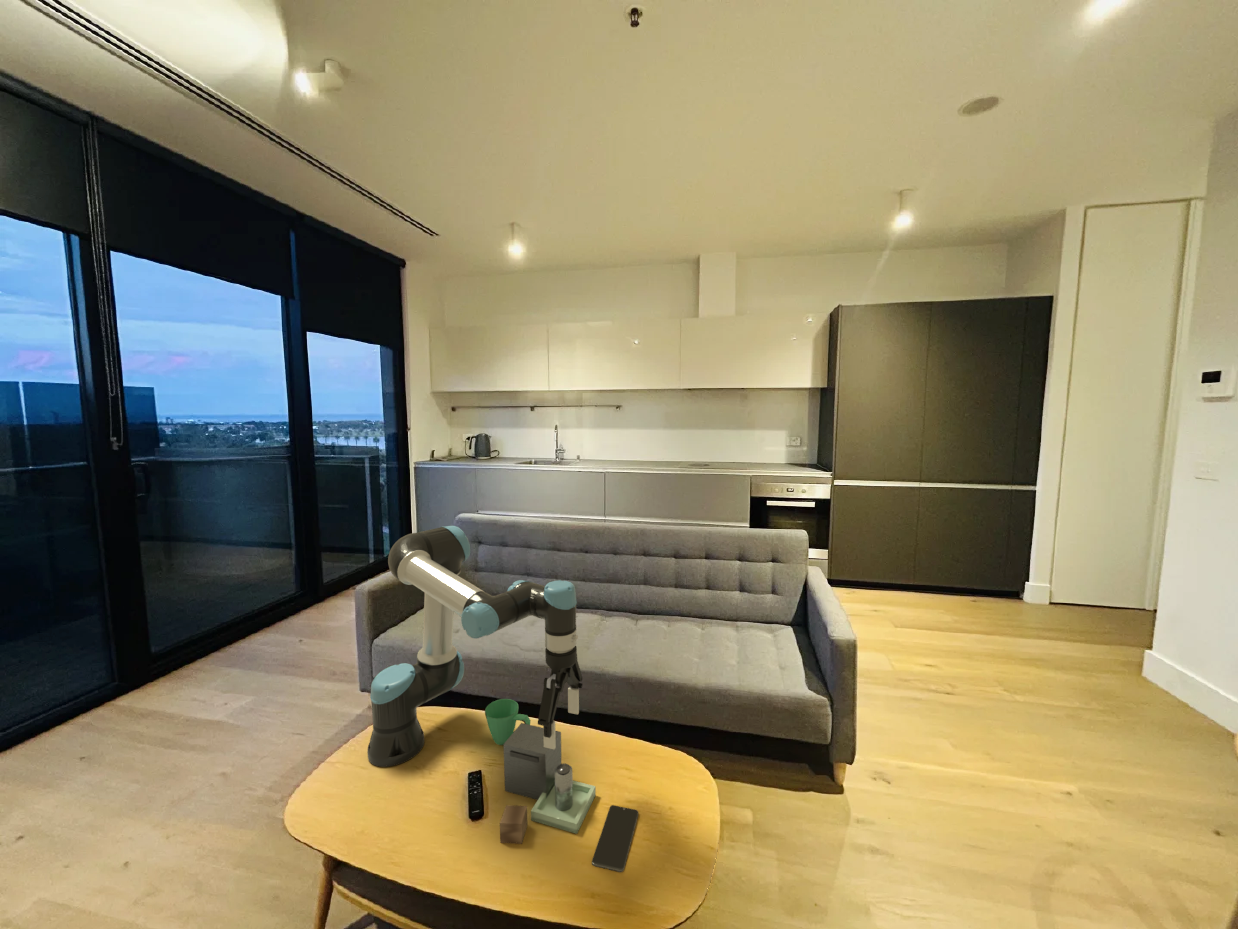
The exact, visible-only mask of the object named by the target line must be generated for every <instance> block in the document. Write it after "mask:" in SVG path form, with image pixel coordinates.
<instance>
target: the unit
mask: <svg viewBox="0 0 1238 929" xmlns="http://www.w3.org/2000/svg"><path fill="white" fill-rule="evenodd" d="M555 736H556V748H555V749H550V748H546V747H544V735H543V727H540V726H536V725H533V724H530V725H528V724H524V722H521V723H520V724H519V725H518V726H517V728H515V729H514V732H513V733H512V735H511V736H510V737H509V738H508V739H507V741H506V742H505V743H504V745H503V766H504V767H503V769H504V772H503V773H504V791H505V792H508V793H511V794H515V795H519V796H521V797H526V798H529V799H532V800H533V799H534V800H536V801H537V800H538V799H539V797H540V796H541V794H542V792H543V793H547V796H548V792H549V791H551V789H549V788H550V786H551V785H552V783H553V781H554V780H555V768H556V767H557V766H558V765H560V764H562V732H561V731H559V730H555ZM553 784H554V783H553ZM553 787H554V786H553ZM553 787H551V788H552V789H553ZM548 789H549V791H548ZM547 791H548V792H547Z"/></svg>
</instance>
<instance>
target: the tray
mask: <svg viewBox="0 0 1238 929" xmlns="http://www.w3.org/2000/svg"><path fill="white" fill-rule="evenodd" d="M553 783H554V784H553ZM553 783H552V785H551V786H550V788H549V789H551V791H549V789H548V791H549V792H548V791H547V792H548V796H547V793H543V792H542V794H541V796H540V797H539V799H538V800H536V802H535V804H534V805H533V807H532V808H531V810H530V820H531V821H532V822H535V823H539V824H541V825H545V826H547V827H548V826H549V827H553V828H556V829H559V830H563V831H565V832H569V833H573V834H576V835H577V834H578V833H579V831H580V828H581V826H582V824H583V823H584V820H585V818H586V816H587V814H588V812H589V810H590V807H591V805H592V803H593V801H594V800H595V797H596V793H597V792H596V786H595V785H592V784H587V783H584V782H580V781H576V780H573V805H572V807H571V808H570V809H569V810H567V811H559V810H557V809H556V807H555V780H554V781H553ZM553 786H554V787H553ZM551 787H553V789H552V788H551Z"/></svg>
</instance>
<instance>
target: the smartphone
mask: <svg viewBox="0 0 1238 929" xmlns="http://www.w3.org/2000/svg"><path fill="white" fill-rule="evenodd" d="M638 817H639V810H638V809H636V808H635V809H633V808H629V807H625V806H624V807H623V806H620V805H619V806H618V805H616V804H615V805H614V804H612V805H610V806H609V809H608V812H607V815H606V817H605V821H604V824H603V827H602V830H601V833H600V835H599V838H598V842H597V845H596V847H595V850H594V854H593V857H592V859H591V865H592V866H593V867H597V868H599V869H608V870H609V871H613V872H617V873H623V872H624V871H625V867H626V864H627V859H628V856H629V851H630V850H631V844H632V841H633V836H634V834H635V829H636V826H637V821H638Z"/></svg>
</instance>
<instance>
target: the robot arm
mask: <svg viewBox="0 0 1238 929" xmlns="http://www.w3.org/2000/svg"><path fill="white" fill-rule="evenodd" d="M470 555H471V545H470V541H469V538H468V536H467V535H466V533H465V531H463V529H461V528H460V527H459V526H457V525H447V526H445V525H444V526H440V527H436V528H432V529H427V530H423V531H418V532H412V533H408V534H406V535H404V536H402V537H400V538H399V539H398V540H396V541H395V543H394V544H393V545H392V547H391V548H390V550H389V554H388V557H387V558H388V559H387V563H388V564H387V565H388V568H389V571H390V572H391V574H392V576H393V577H395V579H396V580H398V581H399V582H401V583H402V584H404V585H408V586H411V585H413V586H414V587H416V588H417V589H418V590H421V591H422V592H423V593H424V600H423V601H424V602H423V605H424V606H423V626H422V627H423V631H422V633H423V634H422V648H420V649H419V650H418V652H417V655H416V663H415V664H411V663H406V662H404V663H399V664H393V665H391V666H388V667H386V668H384V669H382V670H381V671H380V672H379V673H377V674H376V676H375V677H374V678H373V680H372V682H371V685H370V696H369V698H370V702H371V716H372V732H371V735H370V740H369V743H368V746H367V760H368V762H370V764H371V765H373V766H376V767H380V768H381V767H382V768H383V767H385V768H387V767H394V766H398V765H400V764H403V763H405V762H407V761H409V760H411V759H412V758H414V757H415V756H416V755H417V754H419V752H421V751H422V749H423V747H424V745H425V733H424V730H423V729H422V726H421V724H420V722H419V719H418V715H417V711H418V710H417V709H418V707H419V706H421V705H423V704H425V703H428V702H429V701H431V700H432V699H436V698H437V697H438V696H441V695H443V694H445V693H448V692H449V691H451V690H452V689H453V688H455V687H456V686H457V685H459V684H460V683H461V681H462V680H463V677H464V673H465V663H464V661H463V658H464V657H463V656H462V654H461V652H459V651H458V650H457V648H456V646H454V645H453V637H454V635H453V634H454V615H455V614H456V615H457V616H459V617H461V618H460V620H461V627H462V629H463V630H464V631H465V632H466V635H467V636H468V637H470V638H472V639H480V638H483V637H485V636H489V635H490V636H491V635H492V634H494V633H496V632H498V631H500V630H502V629H504V628H506V627H508V626H510V625H512V624H515V623H516V622H519V621H521V620H524V619H525V618H528V617H530V616H531V617H535V618H538V619H541V620H544V646H545V649H544V650H545V651H544V652H545V658H544V659H545V664H546V665H547V666H548V667H549V668H550V676H549V677H544V679H543V689H542V690H543V692H542V696H541V701H540V702H541V703H540V708H539V712H538V719H537V725H539V726H543V727H542V728H543V735H544V747H546V748H550V749H555V748H556V736H555V731H556V721H555V720H554V719H555V715H556V712H557V708H558V703H559V699H560V696H561V693H563V692H564V688H565V684H566V683H567V685H568V686H569V687H568V688H567V712H568V713H569V714H574V715H579V713H580V704H579V703H580V701H579V700H580V698H579V697H580V692H579V691H580V689H582V688H583V683H582V681H583V675H582V672H581V668H580V665H579V661H578V652H577V651H578V650H577V640H578V639H579V638H578V637H579V636H578V635H577V604H578V602H577V593H576V586H575V584H574V583H572V582H571V581H567V580H553V581H550V582H547V583H546V585H543V584H539V583H535V582H534V581H530V580H525V579H524V580H523V579H518V580H516V581H514V582H513V583H512V584H511V585H510V586H509V587H508V588H507V591H505V592H502V593H500V594H497V595H491V594H490V593H488V592H486V591H484V590H482V589H481V588H479V587H477V586H476V585H475V584H473V583H471V582H469V581H468V580H466V579H464V578H463V577H461V576H459V575H460V574H461V571H462V563H464V562H466V561H467V560H468V559H469V558H470Z"/></svg>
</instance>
